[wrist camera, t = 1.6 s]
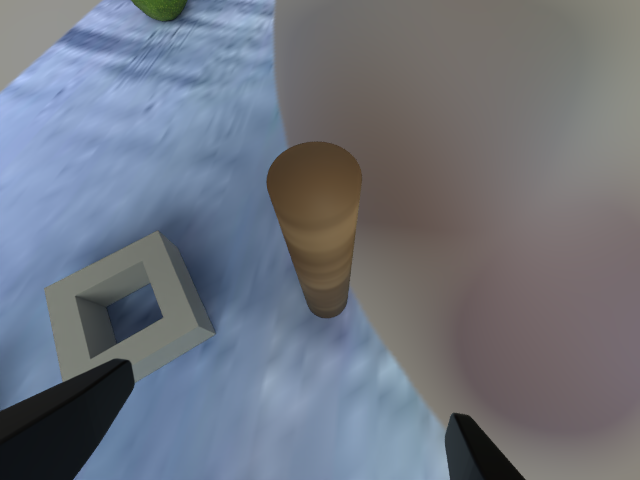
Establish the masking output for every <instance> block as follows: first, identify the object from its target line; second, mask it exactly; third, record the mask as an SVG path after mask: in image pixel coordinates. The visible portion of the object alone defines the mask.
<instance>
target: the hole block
mask: <svg viewBox="0 0 640 480" xmlns="http://www.w3.org/2000/svg"><path fill="white" fill-rule="evenodd" d="M149 283H151V286H152V288H153V291H154V294H155V296H156V299H157V302H158V304H159V307H160V310H161V312H162V315H163V318H162V319H160V320H158V321H157V322H155V323H153V324H151V325H150V326H148V327H146V328H144V329H143V330H141V331H139V332H137V333H136V334H134V335H132V336H130V337H129V338H127V339H125V340H123V341H122V342H120V343H118V344H117V343H116V339H115V336H114V333H113V329H112V326H111V322H110V319H109V315H108V312H107V308H106V307H107V306H109V305H111V304H112V303H114V302H116V301H118V300H120V299H122V298H123V297H125V296H127V295H129V294H131V293H133V292H135V291H136V290H138V289H140V288H142V287H144V286H146V285H147V284H149ZM44 290H45V295H46V300H47V305H48V310H49V316H50V321H51V326H52V331H53V336H54V341H55V346H56V351H57V356H58V361H59V366H60V371H61V376H62V381H63V382H65V381H67V380H69V379H71V378H73V377H75V376H77V375H80V374H82V373H84V372H86V371H88V370H90V369H93V368H95V367H97V366H99V365H101V364H103V363H106V362H108V361H110V360H112V359H115V358H120V359H126V360H130V362H131V363H132V368H133V374H134V379H135V383H136V382H137V381H139V380H141V379H142V378H144V377H146V376H147V375H149V374H151V373H152V372H154V371H156V370H157V369H159V368H161V367H162V366H164V365H166V364H167V363H169V362H171V361H172V360H174V359H175V358H177V357H179V356H180V355H182V354H184V353H185V352H187V351H189V350H190V349H192V348H194V347H195V346H197V345H199V344H200V343H202V342H204V341H205V340H207V339H209V338H210V337H212V336H214V335H215V334H216V333H215V331H214V328H213V326H212V324H211V322H210V319H209V317H208V315H207V313H206V311H205V308H204V306H203V304H202V302H201V299H200V297H199V295H198V293H197V290H196V288H195V286H194V284H193V281H192V279H191V277H190V275H189V272H188V270H187V268H186V266H185V263H184V261H183V259H182V257H181V254H180V252H179V250H178V248H177V247H176V246H175V245H174V244H173V243H172V242H170V241H169V240H168V239H167V238H166V237H165V236H164V235H163V234H161V233H160V232H159V231H156V232H154V233H152V234H150V235H148V236H146V237H144V238H142V239H140V240H138V241H136V242H134V243H132V244H130V245H128V246H126V247H124V248H123V249H121V250H119V251H117V252H115V253H113V254H111V255H109V256H107V257H105V258H103V259H101V260H99V261H97V262H95V263H93V264H91V265H89V266H87V267H85V268H83V269H81V270H79V271H77V272H75V273H73V274H71V275H69V276H68V277H66V278H64V279H62V280H60V281H58V282H56V283H54V284H52V285H50V286H48V287H46V288H44Z"/></svg>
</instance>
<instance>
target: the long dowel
mask: <svg viewBox="0 0 640 480" xmlns="http://www.w3.org/2000/svg"><path fill="white" fill-rule="evenodd" d="M361 183H362V174H361V169H360V167H359V164H358V163H357V161H356V160H355V158H354V157H353V156H352V155H351V154H350V153H349V152H348V151H346V150H345V149H343V148H341V147H339V146H337V145H334V144H331V143H326V142H307V143H302V144H298V145H296V146H293V147H291V148H289V149H287V150H286V151H284V152H283V153H281V154H280V155H279V156H278V157H277V158H276V159H275V161H274V162H273V163H272V165H271V167H270V169H269V171H268V175H267V189H268V193H269V195H270V198H271V201H272V204H273V207H274V210H275V213H276V216H277V218H278V221H279V224H280V227H281V230H282V233H283V236H284V239H285V241H286V244H287V247H288V250H289V253H290V256H291V259H292V262H293V264H294V267H295V270H296V273H297V276H298V279H299V282H300V285H301V287H302V290H303V293H304V296H305V299H306V302H307V305H308V307H309V309H310V310H311V311H312V313H314V314H315V315H316V316H318V317H321V318H332V317H335V316H337V315H339V314H340V313H341V312H342V311H343V310H344V308H345V307H346V304H347V298H348V290H349V282H350V274H351V265H352V257H353V249H354V240H355V233H356V224H357V216H358V207H359V200H360V191H361Z"/></svg>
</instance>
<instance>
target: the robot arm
mask: <svg viewBox="0 0 640 480" xmlns="http://www.w3.org/2000/svg"><path fill="white" fill-rule="evenodd" d="M134 385H135V379H134V374H133V368H132V363H131V362H130V360H126V359H120V358H115V359H112V360H110V361H108V362H106V363H103V364H101V365H99V366H97V367H95V368H93V369H90V370H88V371H86V372H84V373H82V374H80V375H77V376H75V377H73V378H71V379H69V380H67V381H65V382H62V383H60V384H58V385H56V386H54V387H52V388H49V389H47V390H45V391H43V392H41V393H39V394H36V395H34V396H32V397H30V398H28V399H26V400H23V401H21V402H19V403H17V404H15V405H13V406H10V407H8V408H6V409H4V410H2V411H0V480H73V479H74V478H75V476H76V475H77V474H78V472H79V471H80V470H81V468H82V467H83V466H84V464H85V463H86V462H87V460H88V459H89V457H90V456H91V455H92V453H93V452H94V450H95V449H96V448H97V446H98V445H99V443H100V442H101V440H102V439H103V437H104V436H105V434H106V432H107V431H108V429H109V428H110V426H111V424H112V423H113V421H114V420H115V418H116V416H117V415H118V413H119V411H120V410H121V408H122V407H123V405H124V403H125V402H126V400H127V399H128V397H129V395H130V394H131V392H132V390H133V388H134ZM445 448H446V455H447V462H448V468H449V475H450V480H525V478H524V477H523V476H522V475H521V474H520V473H519V472H518V470H517V469H516V468H515V467H514V466H513V465H512V463H510V461H509V460H508V459H507V458H506V457H505V455H504V454H503V453H502V452H501V451H500V450H499V449H498V448H497V446H496V445H495V444H494V443H493V442H492V441H491V439H490V438H489V437H488V436H487V435H486V434H485V432H484V431H483V430H482V429H481V428H480V427H479V426H478V424H477V423H476V422H475V421H474V420H473V419H472V418H471V417H470V416H469V415H465V414H460V413H452V415H451V416H450V420H449V423H448V427H447V430H446V434H445Z"/></svg>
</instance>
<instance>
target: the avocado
mask: <svg viewBox="0 0 640 480" xmlns="http://www.w3.org/2000/svg"><path fill="white" fill-rule="evenodd" d="M131 1H132V2H133V3H134V5H136V6H137V7H138V8H139V9H141V10H142V11H143V12H144V13H145V14H146V15H148V16H149V17H151V18H153V19H156V20H160V21H167V20H173V19H174V18H176V17H177V16H178V15H179V14H180V13H181V12H182V10H183V8H184V7H185V5H186V2H187V0H131Z"/></svg>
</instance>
